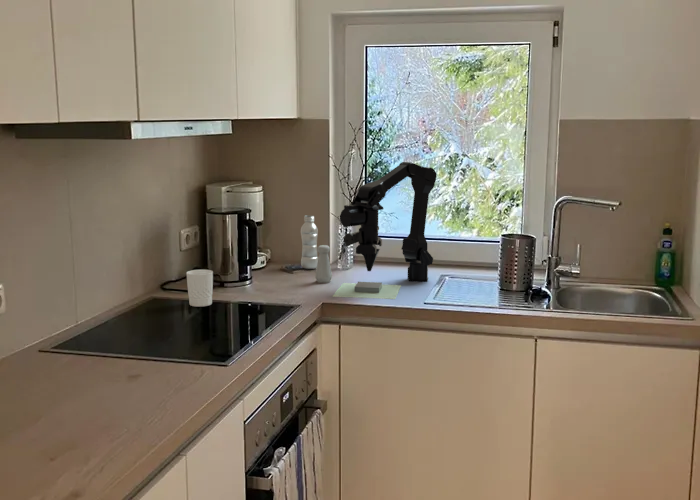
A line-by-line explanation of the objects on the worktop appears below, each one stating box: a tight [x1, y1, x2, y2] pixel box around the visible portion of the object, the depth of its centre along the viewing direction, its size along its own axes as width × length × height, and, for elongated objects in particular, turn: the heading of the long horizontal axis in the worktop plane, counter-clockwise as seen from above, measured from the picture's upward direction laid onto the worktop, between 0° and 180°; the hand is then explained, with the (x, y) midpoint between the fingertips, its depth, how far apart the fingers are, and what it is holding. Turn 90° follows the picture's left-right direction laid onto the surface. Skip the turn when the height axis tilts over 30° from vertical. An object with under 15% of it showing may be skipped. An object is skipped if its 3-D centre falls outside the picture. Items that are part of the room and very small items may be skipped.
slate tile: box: [355, 281, 383, 293], centre depth 247 cm, size 8×2×8 cm
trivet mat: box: [331, 282, 402, 300], centre depth 246 cm, size 20×20×1 cm
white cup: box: [185, 269, 214, 308], centre depth 229 cm, size 8×8×10 cm
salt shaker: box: [314, 244, 333, 284], centre depth 258 cm, size 6×6×13 cm
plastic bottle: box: [300, 215, 319, 270], centre depth 282 cm, size 6×7×20 cm
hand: (369, 271), depth 247 cm, fingers closed
